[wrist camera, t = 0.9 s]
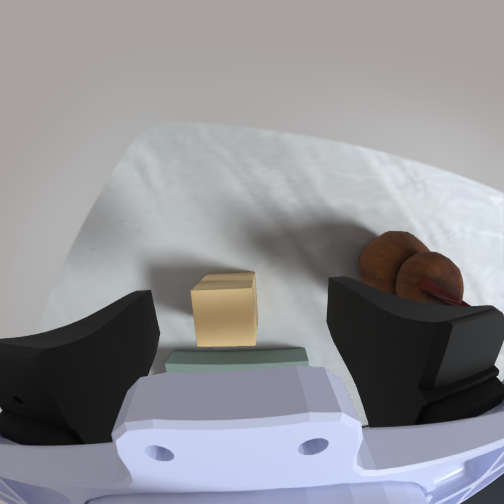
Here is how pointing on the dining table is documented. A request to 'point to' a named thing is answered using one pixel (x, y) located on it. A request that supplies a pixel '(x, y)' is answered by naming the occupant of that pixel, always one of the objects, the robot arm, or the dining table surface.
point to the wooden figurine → (410, 270)
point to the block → (225, 310)
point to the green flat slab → (234, 360)
